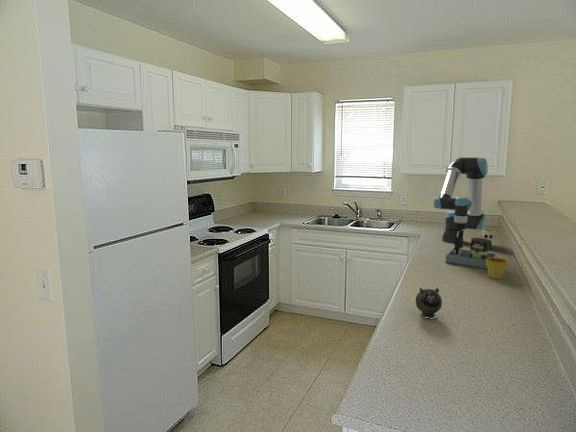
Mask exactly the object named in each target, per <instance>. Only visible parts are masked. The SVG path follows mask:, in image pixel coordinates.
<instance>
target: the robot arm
mask: <svg viewBox="0 0 576 432" xmlns="http://www.w3.org/2000/svg"><path fill="white" fill-rule="evenodd" d="M488 168H489V167H488V162H487V159H486V158H484V157H459V158H456V159H455V160H453V161H452V162H451V163H450V164H449V165H448V166H447V168H446V170H445V173H446V175H445V179H444V181H443V183H442V184H443V185H442V187H441V190H440V194H439V196H435V197H434V200H433V208H434V209H438V210H448V211H446V214H445V223H444V232H443V234H442V237H441V241H442V242H445V243H450V244H452V243H453V244H454V247H453V248H454V249H455V256H459V255H460V251H462V249H463V248H464V246H463V243H464V232H465V231H464V230H474V231H475V230H477V231H480V230H483V227H484V224H485V220H486V214H485V213H484V211H483V210H482V192H483V191H482V190H483V189H482V188H483V179H484V178H485V177H486V176H487V175H488ZM461 175H465V176H466V178H467V179H468V189H467V190H468V192H467V193H468V194H467V196H468V197H466V196H456V197H455V198H454V197H453V194H454V192H455V188H456V185H457V182H458V178H459V177H460V176H461Z"/></svg>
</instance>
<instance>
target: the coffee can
mask: <svg viewBox="0 0 576 432" xmlns="http://www.w3.org/2000/svg"><path fill="white" fill-rule="evenodd" d="M489 243H490V240H488V239H484V238H482V237H472V238H471V239H470V249H469V250H470V258H476V259H483V260H486V259H487V258H488V253H490V249H489Z"/></svg>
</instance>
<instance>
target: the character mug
mask: <svg viewBox="0 0 576 432" xmlns="http://www.w3.org/2000/svg"><path fill="white" fill-rule="evenodd" d="M478 234H479V235H478V238H484V239H488V240H490V243H489V250H491V249H492V247H493V246H492V245H493V244H492V241H493V240H494V239H497V236H498V235H497V234H498V233H495V231H494V230H492V229H482V232H479V233H478Z"/></svg>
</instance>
